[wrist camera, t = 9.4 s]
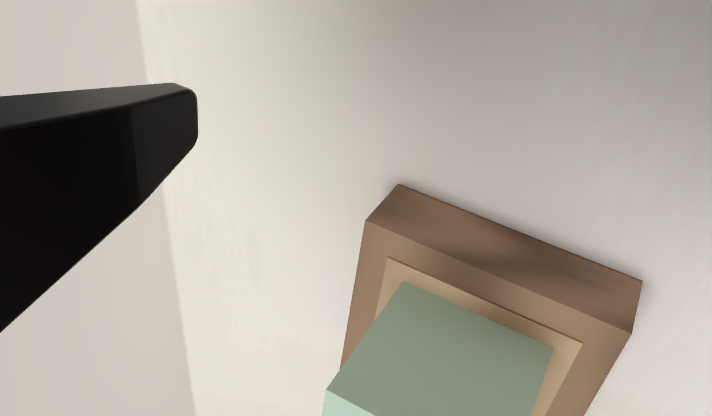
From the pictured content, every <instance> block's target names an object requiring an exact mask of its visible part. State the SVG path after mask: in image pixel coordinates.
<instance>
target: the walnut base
mask: <svg viewBox="0 0 712 416" xmlns="http://www.w3.org/2000/svg"><path fill="white" fill-rule="evenodd" d="M403 281H405V282H407V283H409V284H412V285H414V286H416V287H418V288H420V289H423V290H425V291H427V292H429V293H432V294H434V295H436V296H438V297H440V298H443V299H445V300H447V301H449V302H452V303H454V304H456V305H458V306H461V307H463V308H465V309H467V310H469V311H472V312H474V313H476V314H478V315H481V316H483V317H485V318H487V319H489V320H492V321H494V322H496V323H498V324H501V325H503V326H505V327H507V328H509V329H512V330H514V331H516V332H518V333H521V334H523V335H525V336H527V337H530V338H532V339H534V340H536V341H538V342H541V343H543V344H545V345H547V346H550V347H552V348H554V350H553V352H552V355H551V358H550V361H549V364H548V367H547V370H546V373H545V376H544V379H543V381H542V384H541V387H540V390H539V393H538V396H537V399H536V402H535V405H534V408H533V410H532V413H531V416H584V414H585V413H586V411H587V409H588V408H589V406H590V404H591V402H592V401H593V399H594V397H595V396H596V394H597V392H598V390H599V389H600V387H601V385H602V384H603V382H604V380H605V378H606V377H607V375H608V373H609V372H610V370H611V368H612V367H613V365H614V363H615V361H616V360H617V358H618V356H619V355H620V353H621V351H622V349H623V348H624V346H625V344H626V343H627V341H628V339H629V338H630V336H631V334H632V330H633V325H634V320H635V315H636V311H637V306H638V301H639V296H640V291H641V286H642V281H639V280H637V279H634V278H632V277H629V276H627V275H624V274H622V273H619V272H617V271H614V270H612V269H609V268H607V267H604V266H602V265H599V264H597V263H594V262H592V261H589V260H587V259H584V258H582V257H579V256H577V255H574V254H572V253H569V252H567V251H564V250H562V249H559V248H557V247H554V246H552V245H549V244H547V243H544V242H542V241H539V240H537V239H534V238H531V237H529V236H526V235H524V234H521V233H519V232H516V231H514V230H511V229H509V228H506V227H504V226H501V225H499V224H496V223H494V222H491V221H489V220H486V219H484V218H481V217H479V216H476V215H474V214H471V213H469V212H466V211H464V210H461V209H459V208H456V207H454V206H451V205H449V204H446V203H444V202H441V201H439V200H436V199H434V198H431V197H429V196H426V195H424V194H421V193H419V192H416V191H413V190H411V189H408V188H406V187H403V186H401V185H397V186H396V187H395V188H394V189H393V190H392V191H391V192H390V194H389V195H388V196H387V197H386V198H385V199H384V200H383V201H382V202H381V204H380V205H379V206H378V207H377V208H376V209H375V210H374V211H373V212H372V213H371V215H370V216H369V217H368V218H367V219H366V220H365V225H364V231H363V237H362V243H361V248H360V254H359V260H358V266H357V272H356V278H355V284H354V289H353V295H352V301H351V307H350V313H349V319H348V324H347V330H346V336H345V342H344V348H343V354H342V360H341V365H340V369H341V368H342V366H343V365H344V363H345V362H346V361H347V359H348V358H349V356H350V355H351V354H352V352H353V351H354V349H355V348H356V347H357V345H358V344H359V342H360V341H361V340H362V338H363V337H364V335H365V334H366V332H367V331H368V330H369V328H370V327H371V325H372V324H373V323H374V321H375V320H376V318H377V317H378V316H379V314H380V313H381V311H382V310H383V309H384V307H385V306H386V304H387V303H388V301H389V300H390V299H391V297H392V296H393V294H394V293H395V292H396V290H397V289H398V287H399V286H400V285H401V283H402V282H403Z"/></svg>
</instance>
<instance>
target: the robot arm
mask: <svg viewBox="0 0 712 416" xmlns="http://www.w3.org/2000/svg"><path fill="white" fill-rule="evenodd" d="M197 138H198V108H197V97H196V94H195V93H194V92H193V91H192V90H191V89H188V88H186V87H183V86H181V85H178V84H176V83H162V84H149V85H137V86H125V87H112V88H100V89H88V90H75V91H63V92H51V93H39V94H26V95H13V96H1V97H0V332H2V331H3V330H4V329H5V328H6V327H7V326H8V325H9V324H10V323H11V322H13V321H14V320H15V319H16V318H17V317H18V316H19V315H20V314H22V313H23V312H24V311H25V310H26V309H27V308H28V307H29V306H30V305H31V304H32V303H34V302H35V301H36V300H37V299H38V298H39V297H40V296H41V295H43V293H45V292H46V291H47V290H48V289H49V288H50V287H51V286H53V285H54V284H55V283H56V282H57V281H58V280H59V279H60V278H61V277H62V276H64V275H65V274H66V273H67V272H68V271H69V270H70V269H71V268H72V267H73V266H75V265H76V264H77V263H78V262H79V261H80V260H81V259H82V258H83V257H85V256H86V255H87V254H88V253H89V252H90V251H91V250H92V249H93V248H94V247H96V246H97V245H98V244H99V243H100V242H101V241H102V240H103V239H105V237H106V236H108V235H109V234H110V233H111V232H112V231H113V230H114V229H115V228H117V227H118V226H119V225H120V224H121V223H122V222H123V221H124V220H126V219H127V218H128V217H129V216H130V215H131V214H132V213H133V212H134V211H135V210H136V209H137V208H138V207H139V206H140V205H141V204H142V203H143V202H144V201H145V200H146V199H147V198H148V197H149V196H150V195H151V194H152V193H153V192H154V190H155V189H156V188H157V187H158V186H159V185H160V184H161V183H162V182H163V180H164V179H165V178H166V177H167V176H168V175H169V174H170V173H171V172H172V170H173V169H174V168H175V167H176V166H177V165H178V164H179V163H180V162H181V160H182V159H183V158H184V157H185V156H186V155H187V154H188V153H189V151H190V150H191V149H192V148H193V147H194V145H195V143H196V141H197Z"/></svg>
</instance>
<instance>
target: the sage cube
mask: <svg viewBox="0 0 712 416" xmlns="http://www.w3.org/2000/svg"><path fill="white" fill-rule="evenodd" d="M553 350H554V348H552V347H550V346H547V345H545V344H543V343H541V342H538V341H536V340H534V339H532V338H530V337H527V336H525V335H523V334H521V333H518V332H516V331H514V330H512V329H509V328H507V327H505V326H503V325H501V324H498V323H496V322H494V321H492V320H489V319H487V318H485V317H483V316H481V315H478V314H476V313H474V312H472V311H469V310H467V309H465V308H463V307H461V306H458V305H456V304H454V303H452V302H449V301H447V300H445V299H443V298H440V297H438V296H436V295H434V294H432V293H429V292H427V291H425V290H423V289H420V288H418V287H416V286H414V285H412V284H409V283H407V282H405V281H403V282H402V283H401V285H400V286H399V287H398V289H397V290H396V292H395V293H394V294H393V296H392V297H391V299H390V300H389V301H388V303H387V304H386V306H385V307H384V309H383V310H382V311H381V313H380V314H379V316H378V317H377V318H376V320H375V321H374V323H373V324H372V325H371V327H370V328H369V330H368V331H367V332H366V334H365V335H364V337H363V338H362V340H361V341H360V342H359V344H358V345H357V347H356V348H355V349H354V351H353V352H352V354H351V355H350V356H349V358H348V359H347V361H346V362H345V363H344V365H343V366H342V368H341V369H340V371H339V372H338V373H337V375H336V376H335V378H334V379H333V380H332V382H331V383H330V385H329V386H328V387H327V389H326V393H325V400H324V406H323V413H322V416H531V413H532V410H533V408H534V405H535V402H536V399H537V396H538V393H539V390H540V387H541V384H542V381H543V379H544V376H545V373H546V370H547V367H548V364H549V361H550V358H551V355H552V352H553Z"/></svg>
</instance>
